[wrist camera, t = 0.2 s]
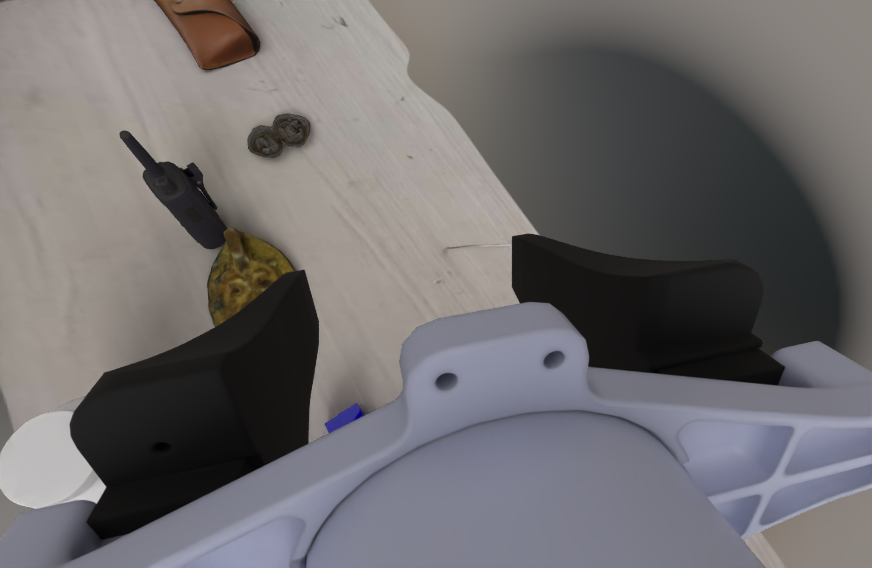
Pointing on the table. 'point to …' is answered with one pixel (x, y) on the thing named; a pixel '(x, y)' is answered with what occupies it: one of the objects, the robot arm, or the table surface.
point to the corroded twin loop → (279, 135)
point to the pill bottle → (47, 463)
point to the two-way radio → (181, 195)
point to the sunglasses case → (212, 31)
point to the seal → (242, 273)
